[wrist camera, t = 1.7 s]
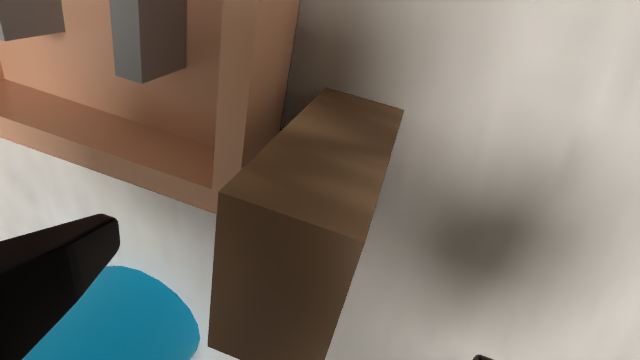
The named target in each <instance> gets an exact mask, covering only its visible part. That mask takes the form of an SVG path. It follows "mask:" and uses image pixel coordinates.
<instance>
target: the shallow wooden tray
mask: <svg viewBox="0 0 640 360" xmlns="http://www.w3.org/2000/svg"><path fill="white" fill-rule="evenodd" d="M299 4H300V0H0V137H1V138H4V139H6V140H9V141H12V142H15V143H18V144H20V145H23V146H26V147H29V148H32V149H35V150H37V151H40V152H43V153H46V154H49V155H52V156H54V157H57V158H60V159H63V160H66V161H69V162H71V163H74V164H77V165H80V166H83V167H85V168H88V169H91V170H94V171H97V172H100V173H102V174H105V175H108V176H111V177H114V178H117V179H119V180H122V181H125V182H128V183H131V184H134V185H136V186H139V187H142V188H145V189H148V190H150V191H153V192H156V193H159V194H162V195H165V196H167V197H170V198H173V199H176V200H179V201H182V202H184V203H187V204H190V205H193V206H196V207H199V208H201V209H204V210H207V211H210V212H213V213H216V214H217V205H218V191H220V190H221V189H222V188H223V187H224V186H225V185H226V184H227V183H228V182H229V181H230V180H231V179H232V178H233V177H234V176H235V175H236V174H237V173H238V172H239V171H240V170H241V169H242V168H243V167H244V166H245V165H246V164H247V163H248V162H249V161H251V160H252V159H253V158H254V157H255V156H256V155H257V154H258V153H259V152H260V151H261V150H262V149H263V148H264V147H265V146H266V145H267V144H268V143H269V142H270V141H271V140H272V139H273V138H274V137H275V136H276V135H277V134H278V133H279V132H280V126H281V119H282V113H283V106H284V100H285V94H286V87H287V81H288V74H289V68H290V62H291V55H292V49H293V42H294V36H295V30H296V23H297V17H298V10H299Z"/></svg>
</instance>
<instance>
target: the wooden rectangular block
mask: <svg viewBox="0 0 640 360" xmlns="http://www.w3.org/2000/svg"><path fill="white" fill-rule="evenodd" d="M403 112H404V110H402V109H398V108H395V107H391V106H388V105H384V104H381V103H378V102H374V101H371V100H367V99H364V98H360V97H357V96H353V95H350V94H347V93H343V92H340V91H336V90H333V89H329V88H325V89H324V90H323V91H322V92H321V93H320V94H319V95H318V96H317V97H316V98H315V99H314V100H312V101H311V102H310V103H309V104H308V105H307V106H306V107H305V108H304V109H303V110H302V111H301V112H300V113H299V114H298V115H297V116H296V117H295V118H294V119H293V120H292V121H291V122H290V123H289V124H288V125H287V126H286V127H285V128H284V129H283V130H281V131H280V132H279V133H278V134H277V135H276V136H275V137H274V138H273V139H272V140H271V141H270V142H269V143H268V144H267V145H266V146H265V147H264V148H263V149H262V150H261V151H260V152H259V153H258V154H257V155H256V156H255V157H254V158H253V159H252V160H251V161H249V162H248V163H247V164H246V165H245V166H244V167H243V168H242V169H241V170H240V171H239V172H238V173H237V174H236V175H235V176H234V177H233V178H232V179H231V180H230V181H229V182H228V183H227V184H226V185H225V186H224V187H223V188H222V189H221V190H220V191H218V205H217V219H216V233H215V247H214V262H213V276H212V290H211V305H210V319H209V333H208V347H210V348H213V349H215V350H218V351H220V352H223V353H225V354H228V355H230V356H232V357H235V358H237V359H240V360H325V357H326V354H327V351H328V348H329V346H330V343H331V340H332V337H333V334H334V331H335V328H336V325H337V322H338V319H339V316H340V313H341V310H342V308H343V305H344V302H345V299H346V296H347V293H348V290H349V287H350V284H351V281H352V278H353V275H354V272H355V270H356V267H357V264H358V261H359V258H360V255H361V252H362V249H363V246H364V243H365V240H366V237H367V233H368V230H369V227H370V223H371V220H372V216H373V213H374V210H375V206H376V203H377V200H378V196H379V193H380V190H381V186H382V183H383V179H384V176H385V173H386V169H387V166H388V163H389V159H390V156H391V152H392V149H393V146H394V142H395V139H396V136H397V132H398V129H399V126H400V122H401V119H402V115H403Z"/></svg>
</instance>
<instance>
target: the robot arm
mask: <svg viewBox="0 0 640 360" xmlns="http://www.w3.org/2000/svg"><path fill="white" fill-rule="evenodd" d="M119 246H120V235H119V225H118V221H117V220H116V219H115V218H113V217H110V216H108V215H105V214H97V215H93V216H89V217H86V218H82V219H79V220H75V221H72V222H68V223H64V224H61V225H57V226H54V227H50V228H46V229H43V230H39V231H36V232H32V233H29V234H25V235H21V236H18V237H14V238H11V239H7V240H4V241H0V360H22V359H23V358H24V357H25V356H26V355H27V354H28V353H29V352H30V351H31V350H32V349H33V348H34V347H35V346H36V345H37V344H38V343H39V342H40V340H41V339H42V338H43V337H44V336H45V335H46V334H47V333H48V332H49V331H50V330H51V329H52V328H53V327H54V326H55V325H56V324H57V323H58V322H59V321H60V320H61V319H62V318H63V316H64V315H65V314H66V313H67V312H68V311H69V310H70V309H71V308H72V307H73V306H74V305H75V304H76V303H77V301H78V300H79V299H80V298H81V297H82V296H83V294H84V293H85V292H86V291H87V289H88V288H89V287H90V286H91V284H92V283H93V282H94V281H95V279H96V278H97V277H98V275H99V274H100V273H101V272H102V270H103V269H104V268H105V267H106V265H107V264H108V263H109V262H110V260H111V259H112V258H113V256H114V255H115V254H116V253H117V251H118V249H119ZM473 360H493V359H491V358H488V357H485V356H482V355H476V356H475V357H474V358H473Z"/></svg>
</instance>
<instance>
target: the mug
mask: <svg viewBox="0 0 640 360" xmlns="http://www.w3.org/2000/svg"><path fill="white" fill-rule="evenodd" d="M199 340H200V335H199V329H198V324H197V322H196V320H195V319H194V317H193V315H192V313H191V311H190V309H189V308H188V307H187V306H186V305H185V303H184V302H183V301H182V300H181V299H180V298H179V296H178V295H177V294H176V293H174V292H173V291H172V290H171V289H169V288H168V287H167V286H165V285H164V284H163V283H162V282H160V281H159V280H157V279H155V278H153V277H151V276H149V275H147V274H145V273H143V272H141V271H139V270H135V269H131V268H127V267H123V266H112V267H105V268H104V269H103V270H102V272H101V273H100V274H99V275H98V277H97V278H96V279H95V281H94V282H93V283H92V284H91V286H90V287H89V288H88V289H87V291H86V292H85V293H84V294H83V296H82V297H81V298H80V299H79V300H78V301H77V303H76V304H75V305H74V306H73V307H72V308H71V309H70V310H69V311H68V312H67V313H66V314H65V315H64V316H63V318H62V319H61V320H60V321H59V322H58V323H57V324H56V325H55V326H54V327H53V328H52V329H51V330H50V331H49V332H48V333H47V334H46V335H45V336H44V337H43V338H42V339H41V340H40V342H39V343H38V344H37V345H36V346H35V347H34V348H33V349H32V350H31V351H30V352H29V353H28V354H27V355H26V356H25V357H24V358H23V359H22V360H190V359H191V357H192V356H193V354H194V353H195V351H196V350H197V347H198V344H199Z"/></svg>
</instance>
